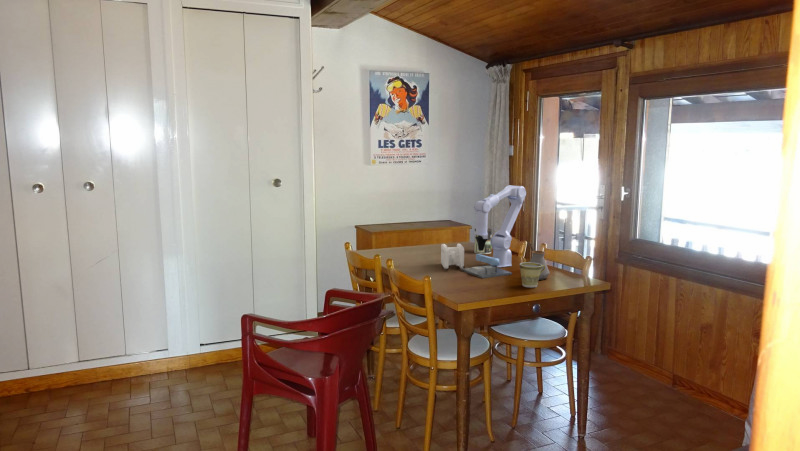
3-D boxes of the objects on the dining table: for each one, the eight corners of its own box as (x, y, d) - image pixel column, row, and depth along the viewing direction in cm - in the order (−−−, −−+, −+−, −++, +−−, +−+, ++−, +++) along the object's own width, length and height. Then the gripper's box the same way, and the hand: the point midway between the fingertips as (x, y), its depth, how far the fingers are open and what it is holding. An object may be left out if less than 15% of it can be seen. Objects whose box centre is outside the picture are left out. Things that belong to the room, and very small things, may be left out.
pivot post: (495, 272, 283) (495, 264, 283) (497, 272, 282) (498, 265, 281) (492, 272, 282) (492, 265, 282) (494, 273, 281) (495, 266, 280)
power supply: (489, 270, 283) (489, 265, 283) (495, 272, 279) (495, 267, 278) (480, 271, 281) (481, 265, 280) (486, 273, 276) (487, 267, 276)
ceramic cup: (527, 289, 250) (528, 267, 249) (514, 284, 260) (515, 263, 258) (550, 286, 256) (552, 265, 254) (537, 281, 265) (538, 261, 263)
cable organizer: (464, 270, 287) (465, 248, 285) (443, 270, 286) (444, 248, 284) (459, 264, 301) (459, 242, 300) (439, 264, 301) (440, 242, 299)
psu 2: (479, 271, 280) (479, 266, 280) (485, 273, 276) (485, 268, 276) (471, 272, 278) (471, 267, 278) (476, 274, 274) (477, 269, 273)
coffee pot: (552, 280, 267) (554, 249, 265) (528, 280, 266) (530, 249, 264) (538, 270, 288) (540, 241, 286) (516, 270, 287) (518, 241, 285)
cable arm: (500, 265, 281) (500, 259, 280) (495, 265, 279) (495, 260, 279) (480, 259, 294) (480, 253, 294) (474, 260, 292) (474, 254, 292)
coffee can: (490, 251, 338) (490, 227, 336) (492, 254, 328) (493, 230, 326) (472, 250, 338) (473, 227, 336) (474, 254, 328) (475, 230, 326)
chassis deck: (489, 267, 294) (490, 265, 294) (511, 274, 278) (511, 272, 278) (461, 270, 286) (461, 268, 286) (482, 278, 270) (482, 276, 270)
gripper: (470, 222, 293) (469, 247, 295) (478, 226, 278) (477, 253, 281) (483, 222, 294) (482, 247, 296) (491, 226, 279) (491, 253, 282)
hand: (481, 250), depth 288 cm, fingers closed
